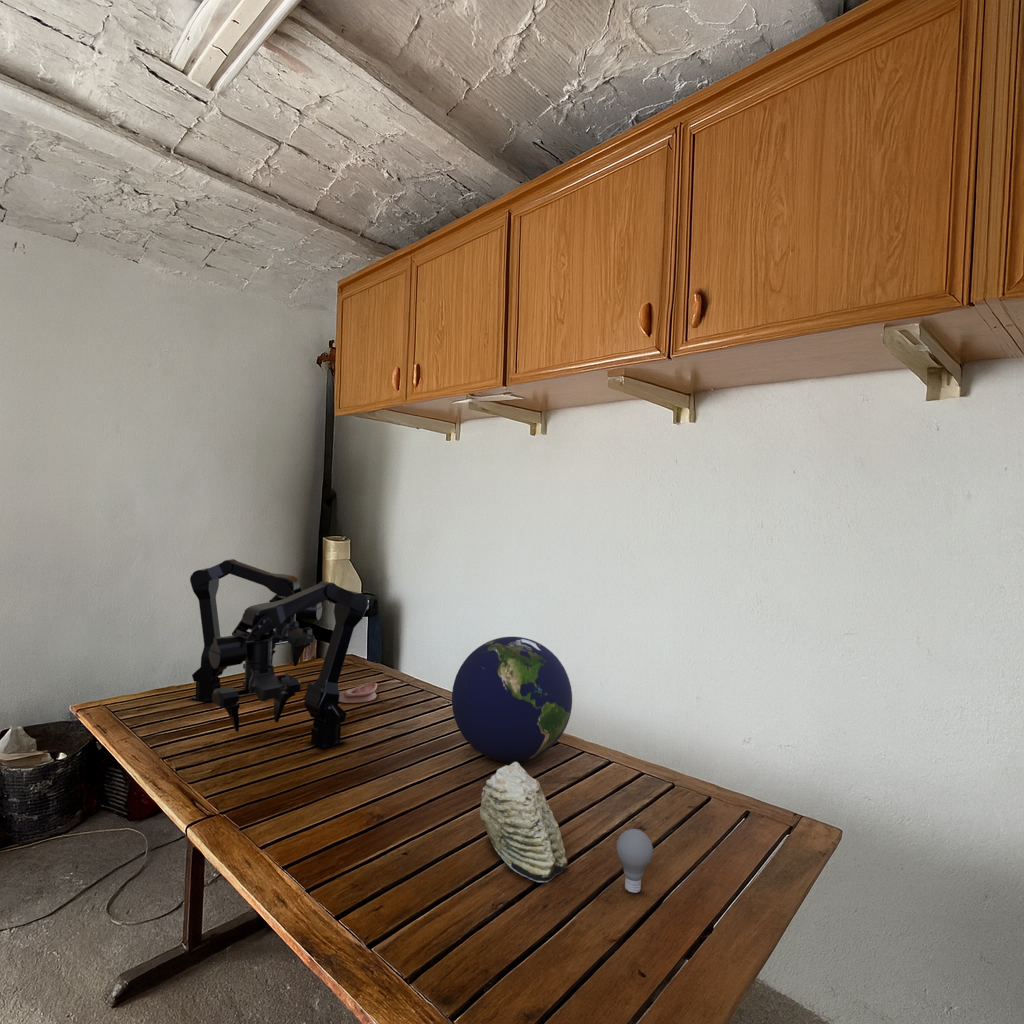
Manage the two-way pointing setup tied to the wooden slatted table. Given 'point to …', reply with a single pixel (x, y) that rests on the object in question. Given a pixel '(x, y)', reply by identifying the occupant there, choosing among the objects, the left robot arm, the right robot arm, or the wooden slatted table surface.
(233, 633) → the right robot arm
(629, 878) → the light bulb
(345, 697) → the anatomical model
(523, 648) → the globe
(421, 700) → the wooden slatted table surface
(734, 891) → the wooden slatted table surface
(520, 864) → the fossil
